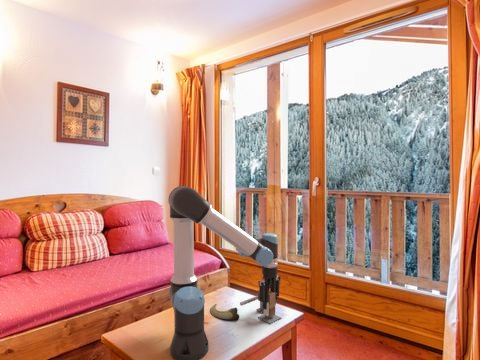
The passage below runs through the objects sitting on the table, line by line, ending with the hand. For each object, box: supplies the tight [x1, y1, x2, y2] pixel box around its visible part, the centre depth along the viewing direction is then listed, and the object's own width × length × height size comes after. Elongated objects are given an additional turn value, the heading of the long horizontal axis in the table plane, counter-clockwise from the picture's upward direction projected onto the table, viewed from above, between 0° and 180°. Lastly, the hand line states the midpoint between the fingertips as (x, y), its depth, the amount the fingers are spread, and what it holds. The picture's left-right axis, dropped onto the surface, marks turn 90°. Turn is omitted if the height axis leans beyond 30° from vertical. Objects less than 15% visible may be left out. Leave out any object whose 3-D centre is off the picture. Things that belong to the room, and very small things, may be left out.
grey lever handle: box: [239, 295, 264, 315], centre depth 148 cm, size 18×5×10 cm, turn 132°
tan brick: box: [257, 289, 276, 318], centre depth 145 cm, size 8×4×11 cm, turn 43°
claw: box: [209, 303, 240, 321], centre depth 149 cm, size 20×10×3 cm, turn 53°
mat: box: [257, 313, 282, 325], centre depth 144 cm, size 8×8×1 cm
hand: (269, 313), depth 144 cm, fingers closed on tan brick, 4 cm apart
